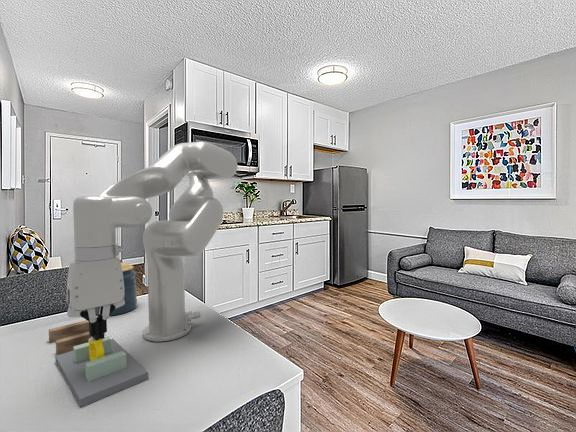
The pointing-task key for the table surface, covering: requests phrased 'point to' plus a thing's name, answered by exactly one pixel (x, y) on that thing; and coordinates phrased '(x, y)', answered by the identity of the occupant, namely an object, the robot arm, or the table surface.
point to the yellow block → (95, 349)
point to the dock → (100, 383)
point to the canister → (126, 291)
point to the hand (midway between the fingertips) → (98, 337)
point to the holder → (69, 336)
